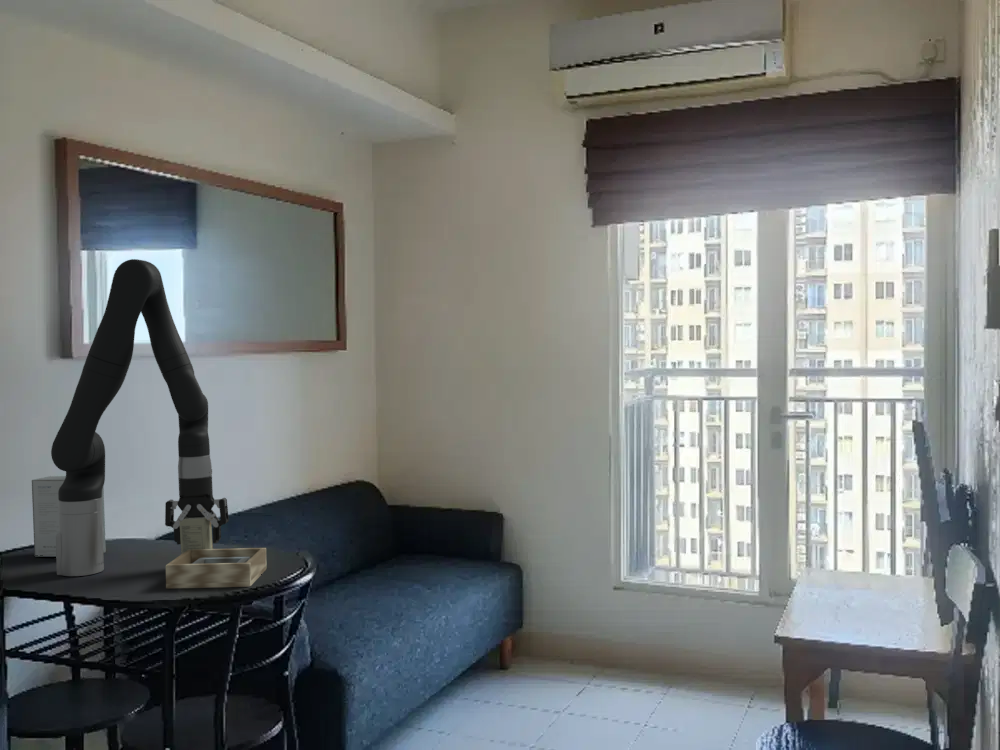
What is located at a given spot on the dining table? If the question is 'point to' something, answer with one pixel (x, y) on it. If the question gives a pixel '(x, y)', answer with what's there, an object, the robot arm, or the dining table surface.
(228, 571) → the walled box
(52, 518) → the hard drive box
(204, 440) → the robot arm
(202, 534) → the skincare box
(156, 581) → the dining table surface
